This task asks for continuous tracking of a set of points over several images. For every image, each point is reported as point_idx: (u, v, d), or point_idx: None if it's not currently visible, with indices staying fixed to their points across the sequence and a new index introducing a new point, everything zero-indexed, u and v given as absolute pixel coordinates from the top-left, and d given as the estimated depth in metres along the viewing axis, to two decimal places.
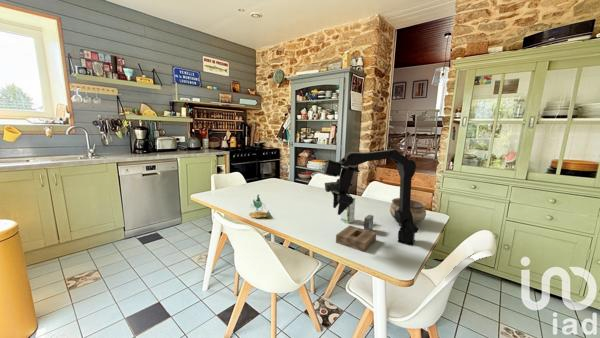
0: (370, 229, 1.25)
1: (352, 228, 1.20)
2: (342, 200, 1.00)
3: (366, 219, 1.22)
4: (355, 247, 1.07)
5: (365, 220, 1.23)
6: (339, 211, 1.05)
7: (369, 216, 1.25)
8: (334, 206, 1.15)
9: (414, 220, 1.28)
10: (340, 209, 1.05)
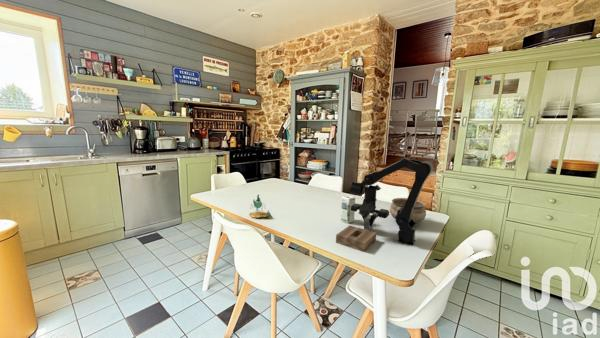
0: (370, 229, 1.25)
1: (352, 228, 1.20)
2: (386, 216, 1.17)
3: (366, 219, 1.22)
4: (355, 247, 1.07)
5: (365, 220, 1.23)
6: (372, 224, 1.24)
7: (369, 216, 1.25)
8: None
9: (414, 220, 1.28)
10: (373, 222, 1.23)
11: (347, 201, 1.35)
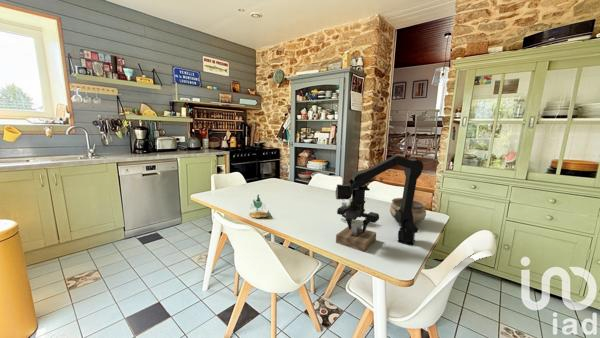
0: None
1: None
2: (375, 220, 1.05)
3: (354, 226, 1.10)
4: (355, 247, 1.07)
5: (352, 228, 1.11)
6: (364, 229, 1.10)
7: (357, 223, 1.13)
8: (350, 228, 1.15)
9: (414, 220, 1.28)
10: (365, 227, 1.10)
11: (347, 201, 1.35)
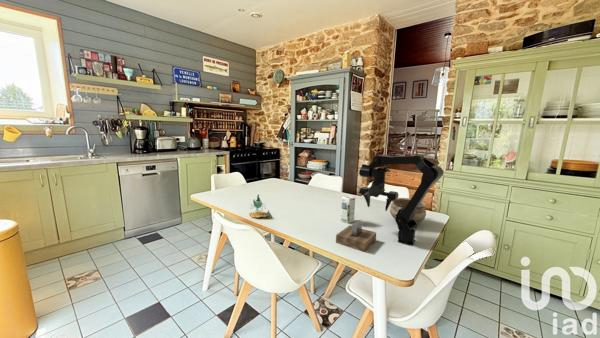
0: None
1: None
2: (395, 198, 1.16)
3: (354, 226, 1.10)
4: (355, 247, 1.07)
5: (352, 228, 1.11)
6: (387, 207, 1.21)
7: (357, 223, 1.13)
8: (368, 206, 1.27)
9: None
10: (388, 206, 1.21)
11: (347, 201, 1.35)
